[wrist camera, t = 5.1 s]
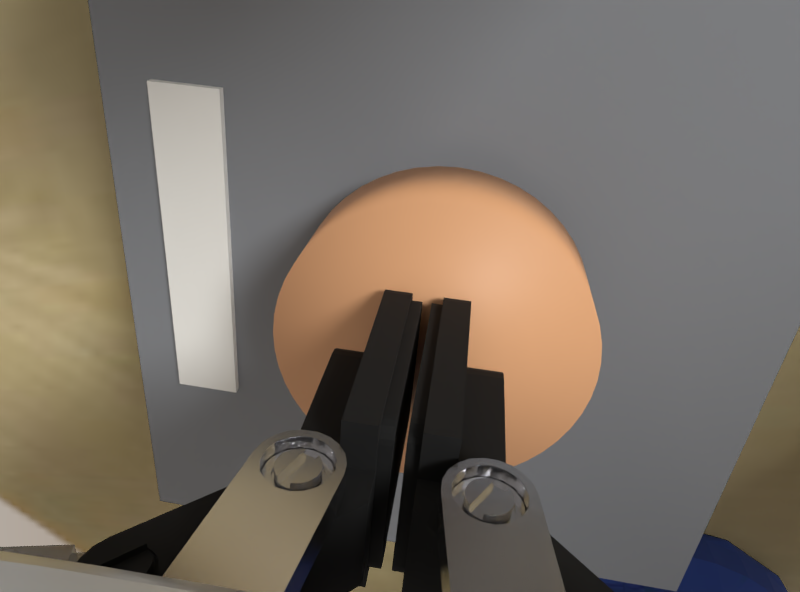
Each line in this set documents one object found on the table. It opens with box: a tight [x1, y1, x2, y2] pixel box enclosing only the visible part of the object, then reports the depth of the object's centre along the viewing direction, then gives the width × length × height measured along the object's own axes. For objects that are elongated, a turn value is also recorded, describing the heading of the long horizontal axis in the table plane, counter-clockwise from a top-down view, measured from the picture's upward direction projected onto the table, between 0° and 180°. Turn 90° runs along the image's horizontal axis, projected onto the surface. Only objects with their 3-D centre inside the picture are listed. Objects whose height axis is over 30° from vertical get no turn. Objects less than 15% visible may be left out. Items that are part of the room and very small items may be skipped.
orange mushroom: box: [273, 166, 602, 473], centre depth 16 cm, size 6×6×8 cm
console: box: [88, 0, 800, 591], centre depth 17 cm, size 18×16×6 cm
